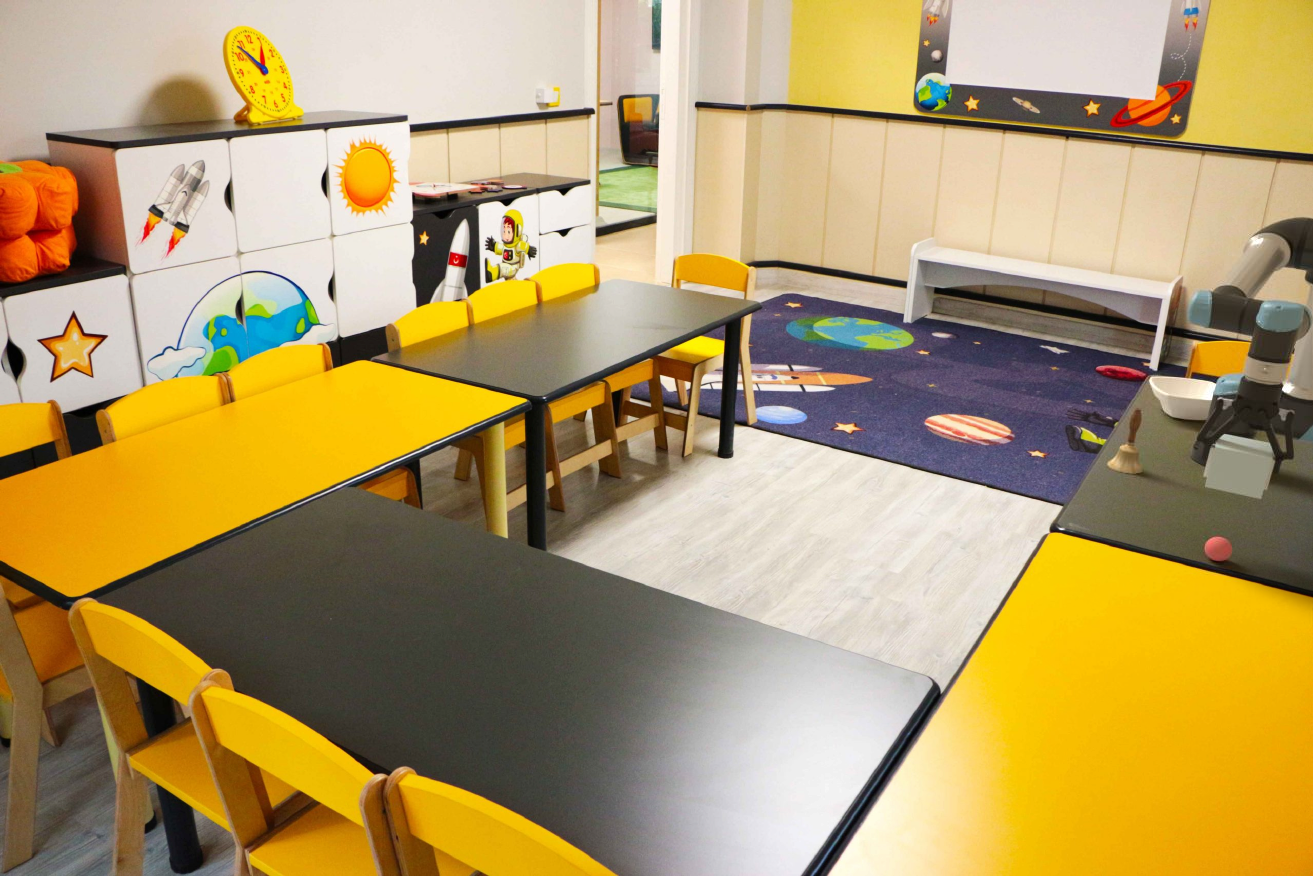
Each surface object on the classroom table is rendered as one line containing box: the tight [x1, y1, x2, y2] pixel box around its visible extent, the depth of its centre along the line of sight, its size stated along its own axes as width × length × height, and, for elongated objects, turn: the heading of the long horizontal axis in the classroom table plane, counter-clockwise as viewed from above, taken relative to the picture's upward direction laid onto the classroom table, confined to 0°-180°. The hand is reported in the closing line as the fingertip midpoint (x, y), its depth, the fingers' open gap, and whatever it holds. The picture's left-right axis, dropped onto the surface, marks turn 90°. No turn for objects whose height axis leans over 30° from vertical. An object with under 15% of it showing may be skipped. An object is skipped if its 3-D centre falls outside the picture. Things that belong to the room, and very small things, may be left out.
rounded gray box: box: [1204, 434, 1274, 500], centre depth 209 cm, size 10×10×9 cm
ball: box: [1204, 536, 1233, 562], centre depth 210 cm, size 5×5×5 cm
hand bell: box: [1106, 407, 1144, 475], centre depth 254 cm, size 8×8×16 cm
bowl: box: [1148, 376, 1216, 421], centre depth 295 cm, size 21×21×9 cm
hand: (1234, 481), depth 211 cm, fingers closed on rounded gray box, 10 cm apart
